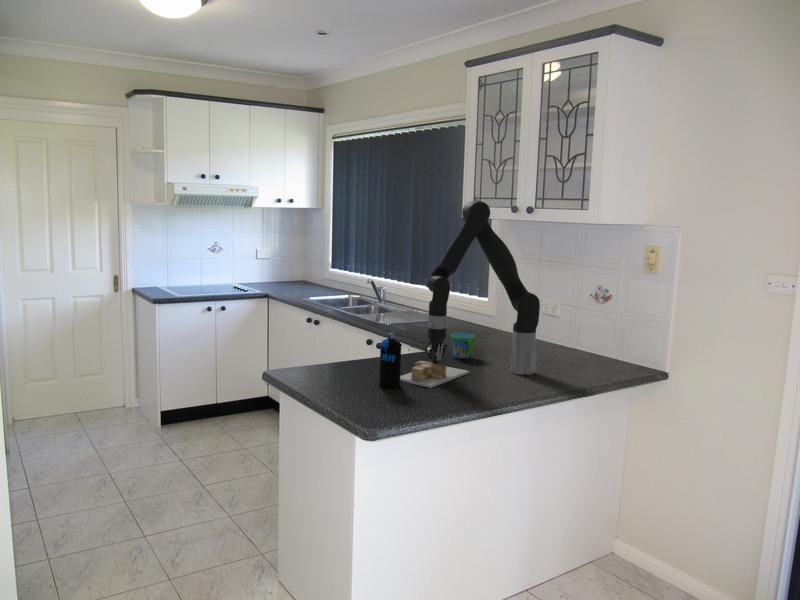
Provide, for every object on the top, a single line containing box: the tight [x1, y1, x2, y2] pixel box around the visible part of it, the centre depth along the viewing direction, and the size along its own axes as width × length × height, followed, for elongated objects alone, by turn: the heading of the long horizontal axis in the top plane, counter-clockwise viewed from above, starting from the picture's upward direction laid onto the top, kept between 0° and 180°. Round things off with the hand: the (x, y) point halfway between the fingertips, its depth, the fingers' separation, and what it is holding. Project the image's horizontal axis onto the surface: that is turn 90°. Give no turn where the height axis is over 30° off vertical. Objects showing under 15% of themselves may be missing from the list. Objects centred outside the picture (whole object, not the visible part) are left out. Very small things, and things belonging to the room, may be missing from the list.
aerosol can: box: [378, 332, 403, 390], centre depth 244 cm, size 8×8×20 cm
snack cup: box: [450, 332, 476, 360], centre depth 294 cm, size 16×10×10 cm
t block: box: [411, 360, 447, 381], centre depth 255 cm, size 12×12×4 cm
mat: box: [400, 366, 470, 389], centre depth 261 cm, size 16×28×1 cm, turn 144°
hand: (435, 369), depth 262 cm, fingers closed
